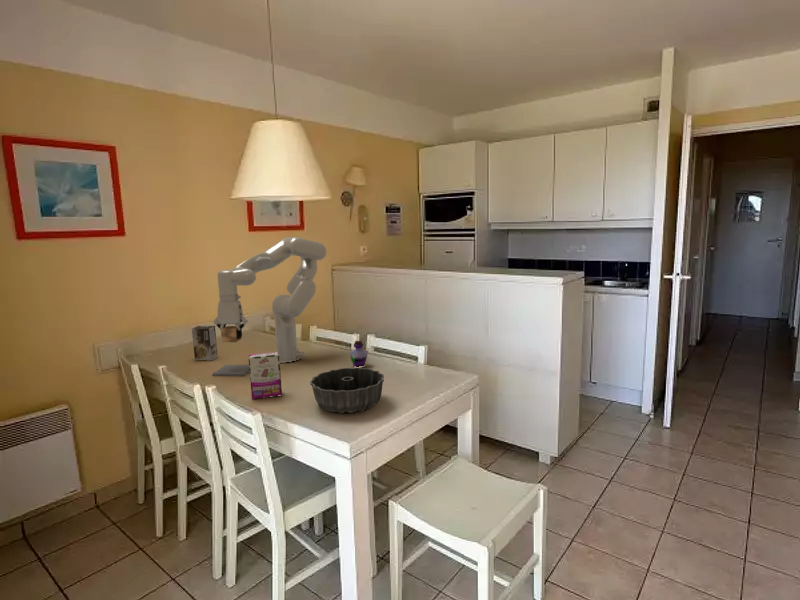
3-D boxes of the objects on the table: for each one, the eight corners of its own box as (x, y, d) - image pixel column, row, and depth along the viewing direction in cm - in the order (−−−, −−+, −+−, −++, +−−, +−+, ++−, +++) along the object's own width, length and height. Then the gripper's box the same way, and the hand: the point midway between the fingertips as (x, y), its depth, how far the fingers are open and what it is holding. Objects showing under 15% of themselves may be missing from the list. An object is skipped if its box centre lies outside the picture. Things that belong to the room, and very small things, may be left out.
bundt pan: (295, 409, 166) (294, 382, 164) (344, 387, 188) (343, 363, 186) (353, 426, 151) (352, 396, 150) (399, 399, 173) (398, 373, 171)
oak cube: (241, 338, 211) (240, 325, 210) (235, 342, 205) (234, 328, 204) (228, 338, 211) (227, 325, 210) (222, 342, 205) (221, 328, 204)
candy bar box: (281, 392, 183) (279, 351, 181) (282, 396, 178) (279, 354, 176) (251, 395, 180) (248, 353, 178) (251, 399, 176) (248, 357, 173)
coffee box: (218, 357, 234) (215, 325, 231) (212, 360, 227) (209, 328, 225) (200, 357, 235) (198, 325, 232) (194, 360, 228) (191, 328, 226)
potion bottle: (346, 368, 212) (345, 342, 210) (355, 362, 220) (355, 337, 218) (362, 370, 208) (362, 344, 206) (372, 364, 216) (371, 339, 214)
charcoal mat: (255, 367, 216) (255, 365, 216) (243, 376, 203) (243, 374, 203) (226, 366, 217) (225, 364, 217) (212, 375, 205) (212, 373, 204)
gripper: (251, 296, 208) (254, 336, 211) (213, 297, 209) (217, 336, 212) (244, 299, 200) (247, 340, 203) (205, 299, 202) (209, 340, 205)
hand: (232, 338), depth 208 cm, fingers closed on oak cube, 6 cm apart
